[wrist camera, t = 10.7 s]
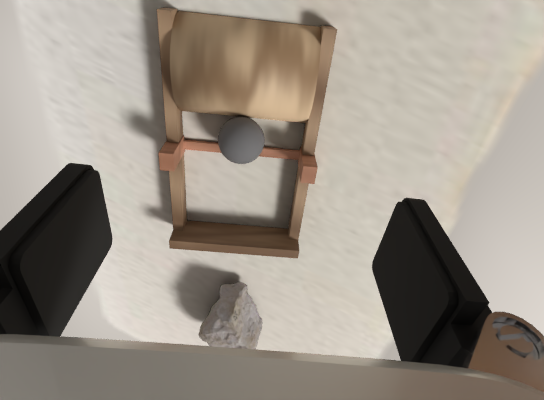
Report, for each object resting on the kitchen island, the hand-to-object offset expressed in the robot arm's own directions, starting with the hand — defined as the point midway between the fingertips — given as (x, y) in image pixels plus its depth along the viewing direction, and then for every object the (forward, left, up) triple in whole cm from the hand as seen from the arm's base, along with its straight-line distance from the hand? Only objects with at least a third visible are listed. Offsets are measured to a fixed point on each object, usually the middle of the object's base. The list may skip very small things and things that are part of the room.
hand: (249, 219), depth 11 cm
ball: (+4, -1, -17) cm, 18 cm away
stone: (+24, -1, -20) cm, 32 cm away
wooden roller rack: (+8, -1, -21) cm, 22 cm away
